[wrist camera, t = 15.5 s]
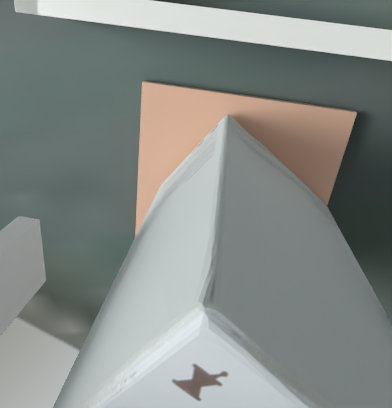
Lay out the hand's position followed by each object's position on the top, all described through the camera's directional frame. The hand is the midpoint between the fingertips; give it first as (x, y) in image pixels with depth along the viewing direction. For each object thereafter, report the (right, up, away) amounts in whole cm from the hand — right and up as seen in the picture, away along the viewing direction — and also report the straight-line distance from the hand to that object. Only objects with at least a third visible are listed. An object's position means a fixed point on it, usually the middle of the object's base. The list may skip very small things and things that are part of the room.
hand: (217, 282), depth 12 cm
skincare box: (+2, +3, +8) cm, 9 cm away
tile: (+1, +4, +8) cm, 9 cm away
